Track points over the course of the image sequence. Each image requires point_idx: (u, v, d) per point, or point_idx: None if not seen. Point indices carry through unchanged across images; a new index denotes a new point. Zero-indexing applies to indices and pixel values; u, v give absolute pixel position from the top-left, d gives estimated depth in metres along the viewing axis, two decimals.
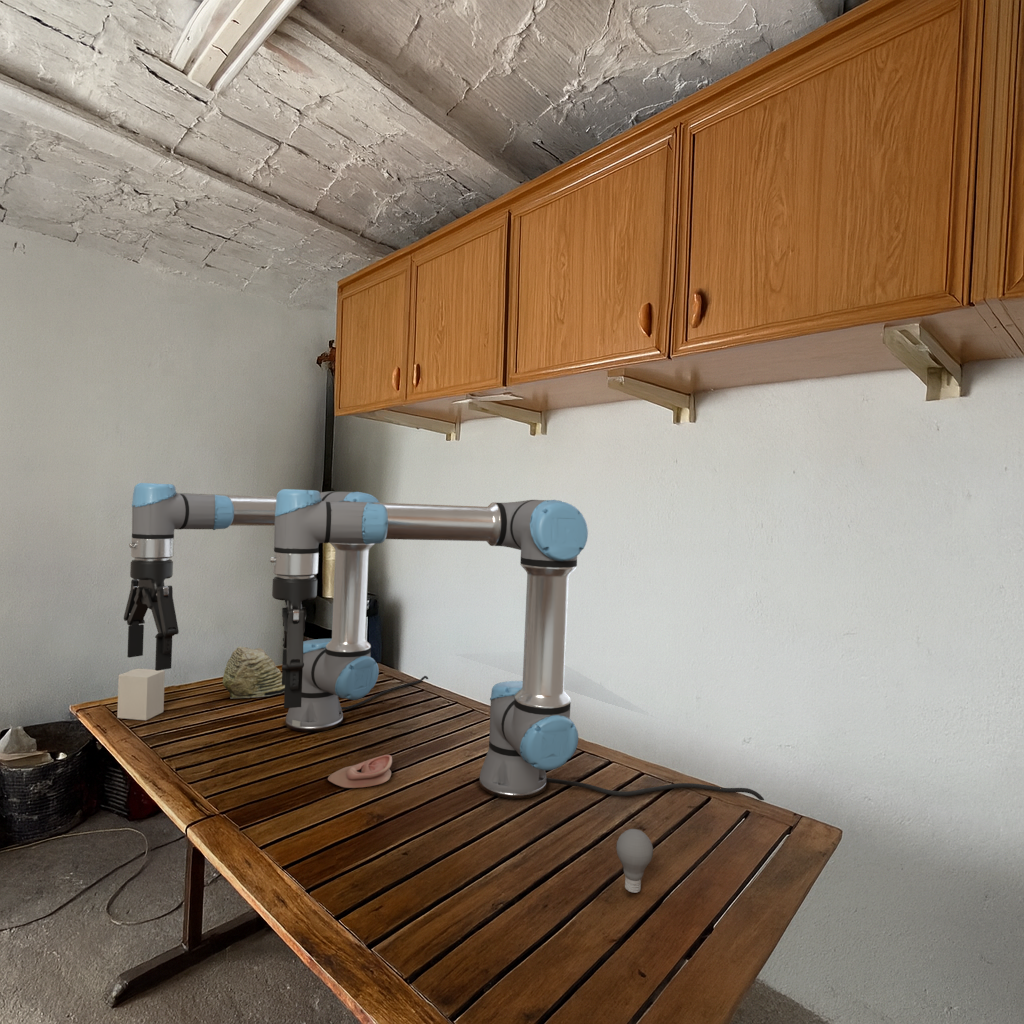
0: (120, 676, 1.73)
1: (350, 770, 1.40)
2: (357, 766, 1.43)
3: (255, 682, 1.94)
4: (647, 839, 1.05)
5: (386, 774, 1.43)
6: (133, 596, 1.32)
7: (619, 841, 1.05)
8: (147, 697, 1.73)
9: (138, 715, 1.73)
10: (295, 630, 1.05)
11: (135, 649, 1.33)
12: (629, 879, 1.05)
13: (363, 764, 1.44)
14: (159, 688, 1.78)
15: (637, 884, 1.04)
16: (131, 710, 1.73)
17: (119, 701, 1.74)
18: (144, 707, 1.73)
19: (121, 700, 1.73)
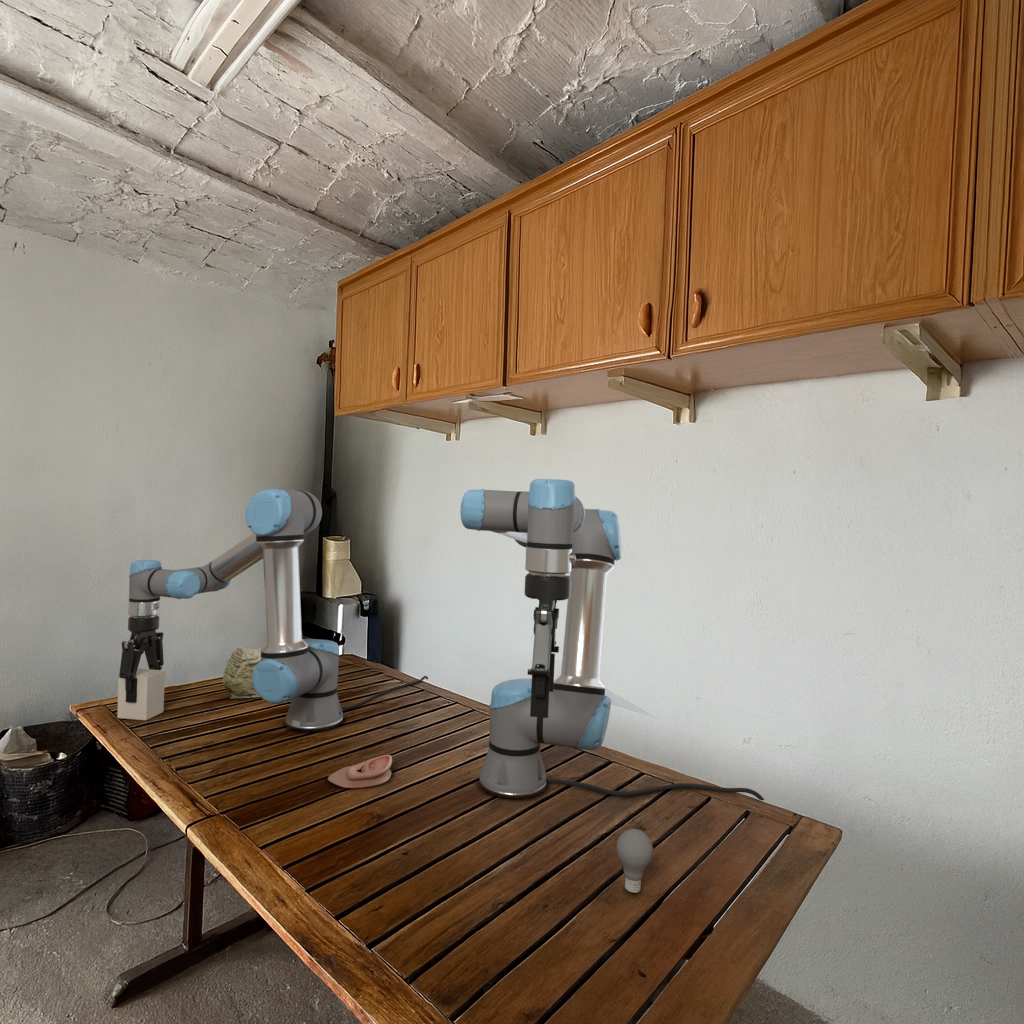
0: None
1: (350, 770, 1.40)
2: (357, 766, 1.43)
3: None
4: (647, 839, 1.05)
5: (386, 774, 1.43)
6: None
7: (619, 841, 1.05)
8: (147, 697, 1.73)
9: (138, 715, 1.73)
10: None
11: None
12: (629, 879, 1.05)
13: (363, 764, 1.44)
14: (159, 688, 1.78)
15: (637, 884, 1.04)
16: (131, 710, 1.73)
17: (119, 701, 1.74)
18: (144, 707, 1.73)
19: (121, 700, 1.73)
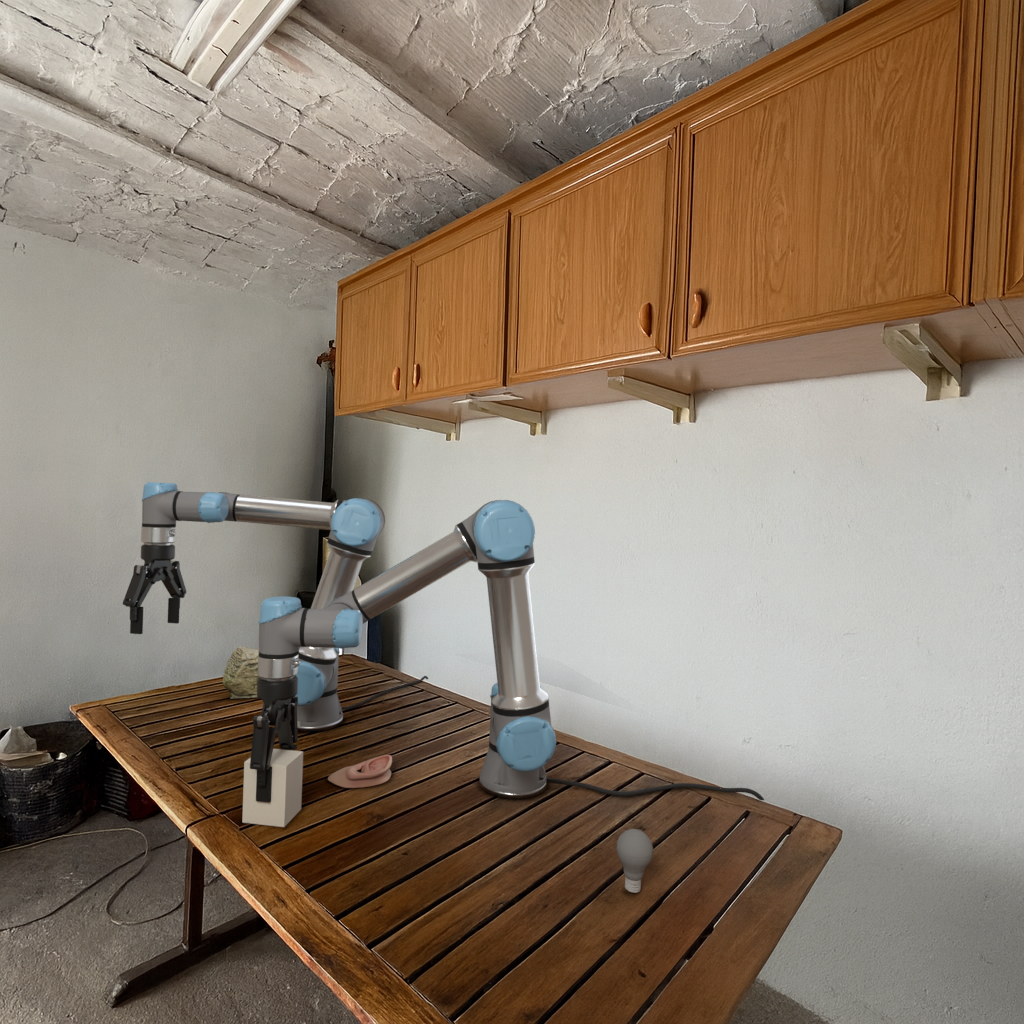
0: (247, 764, 1.22)
1: (350, 770, 1.40)
2: (357, 766, 1.43)
3: (255, 682, 1.94)
4: (647, 839, 1.05)
5: (386, 774, 1.43)
6: None
7: (619, 841, 1.05)
8: (286, 793, 1.21)
9: (273, 820, 1.21)
10: None
11: None
12: (629, 879, 1.05)
13: (363, 764, 1.44)
14: (297, 778, 1.26)
15: (637, 884, 1.04)
16: (262, 812, 1.22)
17: (245, 799, 1.22)
18: (282, 808, 1.21)
19: (248, 798, 1.22)
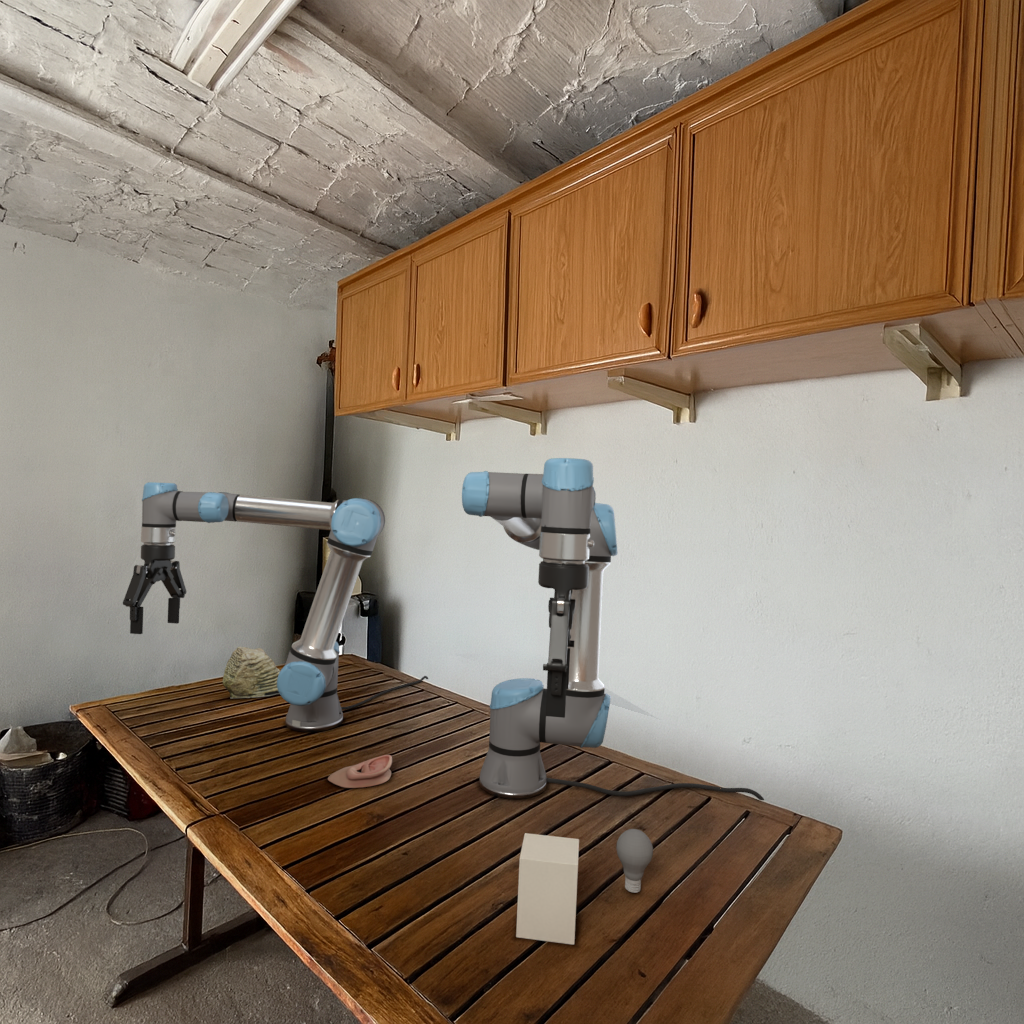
0: (523, 861, 0.93)
1: (350, 770, 1.40)
2: (357, 766, 1.43)
3: (255, 682, 1.94)
4: (647, 839, 1.05)
5: (386, 774, 1.43)
6: None
7: (619, 841, 1.05)
8: None
9: (558, 935, 0.93)
10: None
11: None
12: (629, 879, 1.05)
13: (363, 764, 1.44)
14: None
15: (637, 884, 1.04)
16: (544, 924, 0.93)
17: (520, 907, 0.93)
18: (571, 919, 0.92)
19: (525, 905, 0.93)
